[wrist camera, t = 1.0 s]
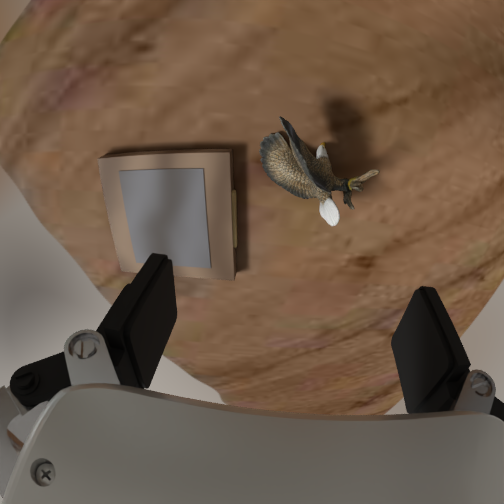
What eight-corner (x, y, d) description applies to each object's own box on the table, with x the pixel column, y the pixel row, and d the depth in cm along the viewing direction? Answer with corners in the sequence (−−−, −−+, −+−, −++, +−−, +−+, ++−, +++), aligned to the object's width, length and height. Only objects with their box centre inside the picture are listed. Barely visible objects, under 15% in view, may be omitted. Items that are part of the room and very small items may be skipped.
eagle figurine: (376, 137, 24) (284, 93, 22) (383, 203, 22) (276, 158, 19) (332, 179, 31) (252, 148, 29) (330, 239, 28) (239, 210, 26)
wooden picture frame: (235, 148, 28) (232, 152, 26) (239, 272, 35) (236, 281, 34) (104, 154, 29) (96, 159, 28) (126, 264, 36) (121, 271, 35)
